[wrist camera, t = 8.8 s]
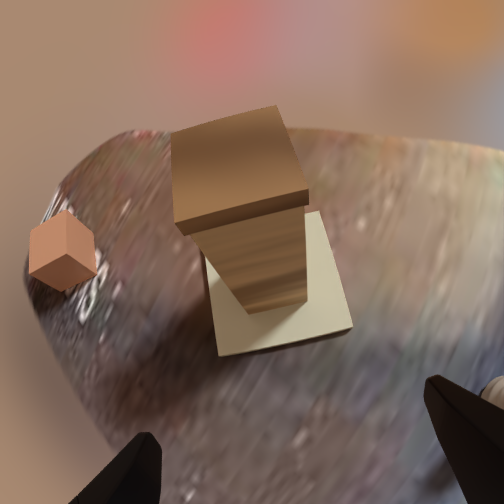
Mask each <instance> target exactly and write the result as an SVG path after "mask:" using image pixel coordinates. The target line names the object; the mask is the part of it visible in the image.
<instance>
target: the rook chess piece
mask: <svg viewBox="0 0 504 504" xmlns="http://www.w3.org/2000/svg"><path fill="white" fill-rule="evenodd" d="M481 398H483V399H485V400H487V401H488V402H490V403H492V404H494V405H496V406H498V407H500V408H502V409H503V410H504V376H500V377H497V378H495V379H493V380H492V381H491V382H490V383H488V385H487V386H486V388H485V389H484V391H483V392H482V395H481Z"/></svg>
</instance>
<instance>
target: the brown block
mask: <svg viewBox="0 0 504 504" xmlns="http://www.w3.org/2000/svg"><path fill="white" fill-rule="evenodd" d="M171 166H172V190H173V208H174V223H175V224H176V226H177V227H178V228H179V230H180V231H181V232H182V234H183V235H184V236H186V235H190V236H191V237H192V239H193V240H194V241H195V243H196V244H197V246H198V247H199V248H200V250H201V251H202V253H203V254H204V255H205V257H206V258H207V259H208V261H209V262H210V264H211V265H212V266H213V268H214V269H215V270H216V272H217V273H218V275H219V276H220V277H221V279H222V280H223V281H224V283H225V284H226V285H227V287H228V288H229V289H230V291H231V292H232V293H233V295H234V296H235V298H236V299H237V300H238V302H239V303H240V304H241V306H242V307H243V308H244V310H245V311H246V312H247V313H248V315H250V314H254V313H259V312H263V311H268V310H272V309H276V308H280V307H285V306H289V305H293V304H297V303H301V302H305V301H308V292H307V257H306V232H305V212H304V206H305V205H309V192H308V186H307V183H306V181H305V178H304V175H303V172H302V170H301V167H300V164H299V162H298V159H297V156H296V154H295V151H294V148H293V146H292V143H291V141H290V138H289V136H288V133H287V130H286V128H285V125H284V124H283V120H282V118H281V116H280V113H279V111H278V108H277V106H276V105H275V106H270V107H266V108H261V109H257V110H253V111H249V112H245V113H241V114H237V115H233V116H229V117H225V118H222V119H218V120H214V121H211V122H208V123H204V124H200V125H197V126H194V127H190V128H187V129H184V130H181V131H178V132H174V133H171Z"/></svg>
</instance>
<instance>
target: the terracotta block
mask: <svg viewBox="0 0 504 504" xmlns="http://www.w3.org/2000/svg"><path fill="white" fill-rule="evenodd" d="M29 274H30V275H32V276H33V277H35V278H37V279H39V280H40V281H42V282H44V283H46V284H47V285H49V286H51V287H53V288H55V289H56V290H58V291H60V292H62V291H64V290H66V289H68V288H70V287H72V286H74V285H76V284H78V283H81V282H83V281H85V280H87V279H89V278H91V277H93V276H96V275H97V268H96V259H95V249H94V237H93V233H92V232H91V231H90V230H89V229H88V228H87V227H85V226H84V225H83V224H82V223H81V222H80V221H79V220H78V219H76V218H75V217H74V216H73V215H72V214H71V213H70V212H69V211H68V210H64V211H62V212H60V213H59V214H57V215H55V216H54V217H52V218H50V219H49V220H47V221H45V222H44V223H42V224H41V225H39V226H37V227H36V228H34V229H33V230H31V234H30V253H29Z"/></svg>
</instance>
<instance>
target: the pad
mask: <svg viewBox="0 0 504 504" xmlns="http://www.w3.org/2000/svg"><path fill="white" fill-rule="evenodd" d="M305 232H306V257H307V292H308V301H305V302H301V303H297V304H293V305H289V306H285V307H280V308H276V309H272V310H268V311H263V312H259V313H254V314H250V315H248V313H247V312H246V311H245V310H244V308H243V307H242V306H241V304H240V303H239V302H238V300H237V299H236V298H235V296H234V295H233V293H232V292H231V291H230V289H229V288H228V287H227V285H226V284H225V283H224V281H223V280H222V279H221V277H220V276H219V275H218V273H217V272H216V270H215V269H214V268H213V266H212V265H211V264H210V262H209V261H208V259H207V258H206V257H205V259H206V268H207V276H208V284H209V291H210V299H211V306H212V314H213V321H214V328H215V335H216V342H217V348H218V355H219V356H220V357H224V356H230V355H235V354H241V353H246V352H251V351H256V350H261V349H266V348H271V347H276V346H281V345H285V344H290V343H294V342H299V341H303V340H307V339H312V338H316V337H320V336H324V335H328V334H332V333H336V332H340V331H344V330H347V329H351V328H353V324H352V321H351V317H350V313H349V309H348V306H347V302H346V299H345V295H344V291H343V288H342V284H341V281H340V277H339V274H338V271H337V267H336V264H335V261H334V257H333V254H332V251H331V247H330V244H329V241H328V238H327V235H326V232H325V228H324V225H323V222H322V219H321V216H320V213H319V211H316V212H312V213H307V214H305Z"/></svg>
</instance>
